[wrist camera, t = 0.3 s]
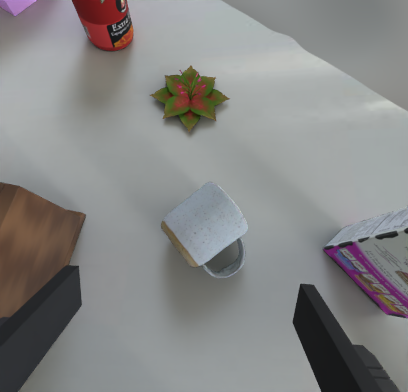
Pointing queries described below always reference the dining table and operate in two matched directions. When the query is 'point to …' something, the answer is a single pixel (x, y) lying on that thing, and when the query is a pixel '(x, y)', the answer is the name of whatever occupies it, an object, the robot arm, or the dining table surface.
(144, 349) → the dining table surface
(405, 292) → the candy bar box
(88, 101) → the dining table surface
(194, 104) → the lily flower
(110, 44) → the canned food
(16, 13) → the teapot
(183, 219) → the ceramic mug
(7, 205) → the open wooden box
